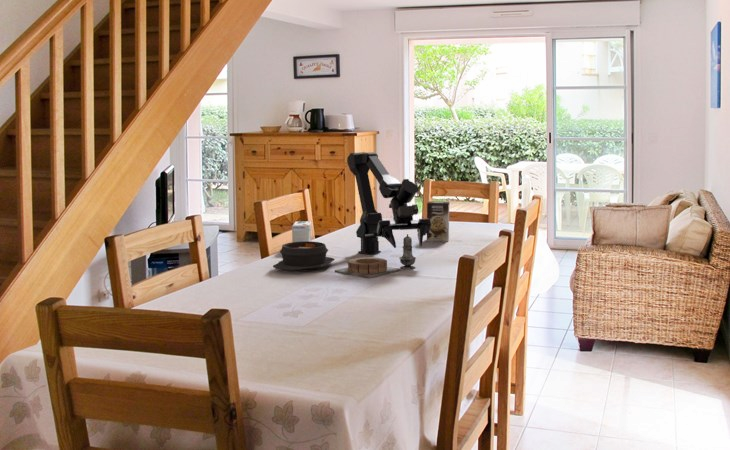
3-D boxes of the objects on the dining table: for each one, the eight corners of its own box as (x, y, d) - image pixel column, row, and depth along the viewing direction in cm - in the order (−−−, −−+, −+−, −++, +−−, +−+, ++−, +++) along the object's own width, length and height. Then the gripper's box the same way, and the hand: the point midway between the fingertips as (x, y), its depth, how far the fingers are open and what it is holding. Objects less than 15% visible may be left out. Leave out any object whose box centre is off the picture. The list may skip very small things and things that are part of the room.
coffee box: (426, 241, 337) (426, 202, 335) (427, 238, 344) (427, 200, 341) (448, 241, 336) (448, 203, 333) (449, 239, 342) (449, 201, 340)
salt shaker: (414, 270, 280) (414, 235, 279) (398, 269, 282) (397, 235, 280) (417, 266, 286) (417, 232, 284) (400, 266, 287) (400, 232, 286)
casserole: (306, 259, 302) (305, 237, 300) (346, 265, 291) (346, 241, 290) (260, 271, 281) (259, 247, 280) (302, 277, 271) (301, 252, 269)
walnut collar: (334, 271, 279) (334, 261, 278) (366, 264, 290) (366, 254, 290) (369, 278, 268) (368, 267, 267) (400, 270, 280) (400, 260, 279)
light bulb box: (295, 247, 327) (294, 221, 325) (312, 247, 327) (311, 220, 325) (292, 252, 317) (291, 225, 315) (309, 252, 316) (308, 224, 315)
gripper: (378, 197, 283) (385, 233, 274) (429, 195, 287) (438, 231, 277) (373, 217, 292) (380, 253, 283) (424, 215, 295) (432, 250, 286)
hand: (408, 246), depth 282 cm, fingers open, 9 cm apart
